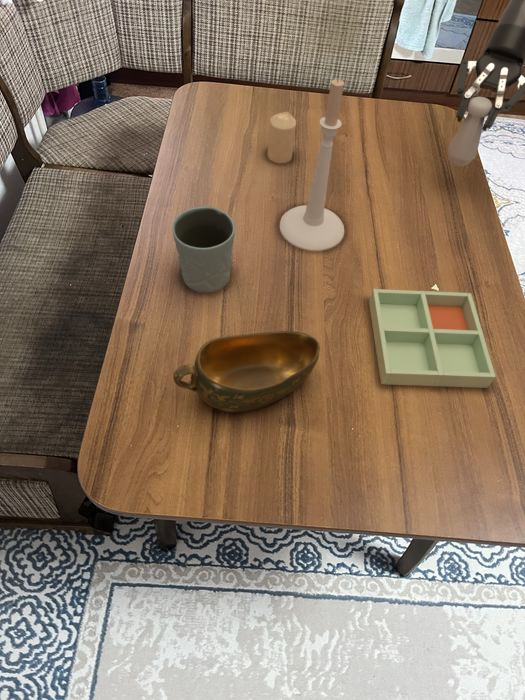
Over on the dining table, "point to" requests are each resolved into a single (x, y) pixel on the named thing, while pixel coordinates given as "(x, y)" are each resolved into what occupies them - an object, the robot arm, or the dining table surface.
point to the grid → (429, 339)
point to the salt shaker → (469, 133)
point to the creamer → (250, 369)
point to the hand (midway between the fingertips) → (471, 124)
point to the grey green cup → (204, 247)
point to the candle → (281, 137)
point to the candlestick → (318, 192)
